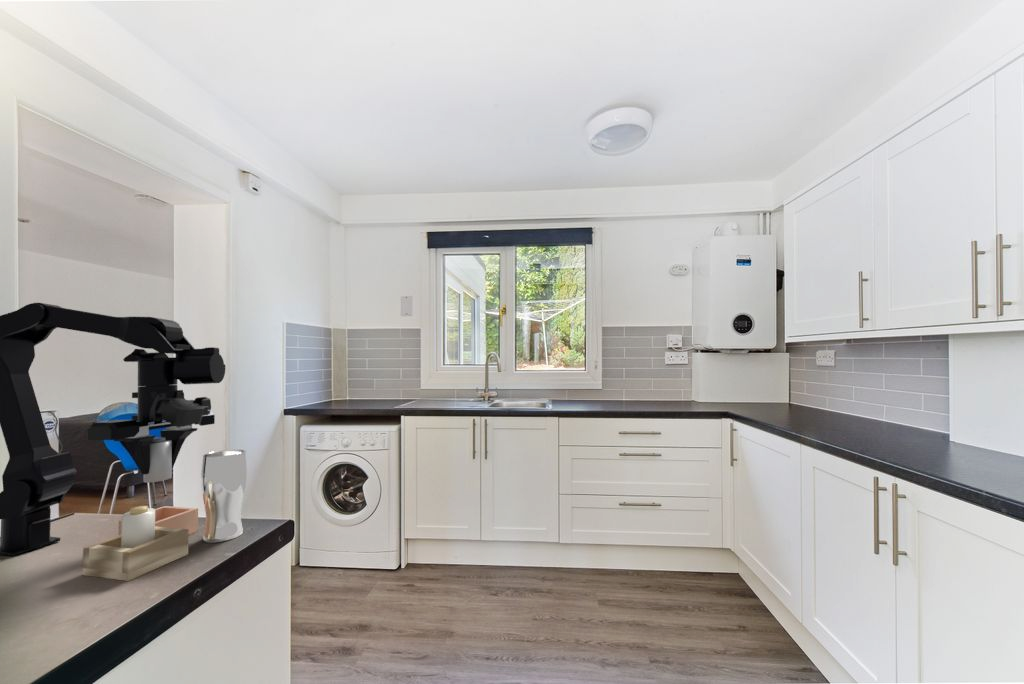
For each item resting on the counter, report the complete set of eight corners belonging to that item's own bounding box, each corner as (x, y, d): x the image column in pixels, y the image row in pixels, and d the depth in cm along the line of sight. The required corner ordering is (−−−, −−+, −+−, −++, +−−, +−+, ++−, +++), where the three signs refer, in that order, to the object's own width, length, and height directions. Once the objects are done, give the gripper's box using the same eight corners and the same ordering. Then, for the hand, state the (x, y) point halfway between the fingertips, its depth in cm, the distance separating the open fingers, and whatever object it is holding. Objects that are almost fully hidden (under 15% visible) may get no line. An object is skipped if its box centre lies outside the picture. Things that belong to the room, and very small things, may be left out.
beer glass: (223, 545, 75) (224, 457, 76) (189, 542, 76) (191, 456, 77) (254, 530, 82) (255, 449, 82) (223, 527, 83) (224, 448, 84)
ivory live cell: (113, 561, 67) (115, 511, 67) (141, 550, 71) (142, 503, 71) (133, 563, 66) (135, 513, 66) (160, 552, 70) (161, 504, 70)
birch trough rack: (82, 574, 65) (83, 547, 65) (145, 549, 74) (146, 525, 74) (128, 580, 63) (129, 552, 63) (188, 554, 71) (188, 529, 72)
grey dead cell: (137, 482, 78) (137, 440, 78) (160, 476, 82) (160, 436, 82) (155, 482, 77) (155, 440, 77) (177, 476, 81) (177, 436, 81)
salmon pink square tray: (118, 545, 76) (118, 520, 76) (164, 528, 83) (165, 505, 84) (153, 548, 74) (154, 523, 74) (197, 531, 82) (198, 508, 82)
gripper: (137, 388, 69) (137, 487, 68) (236, 382, 87) (237, 460, 87) (85, 389, 72) (84, 485, 71) (192, 383, 90) (192, 459, 89)
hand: (157, 471), depth 79 cm, fingers closed on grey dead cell, 4 cm apart
